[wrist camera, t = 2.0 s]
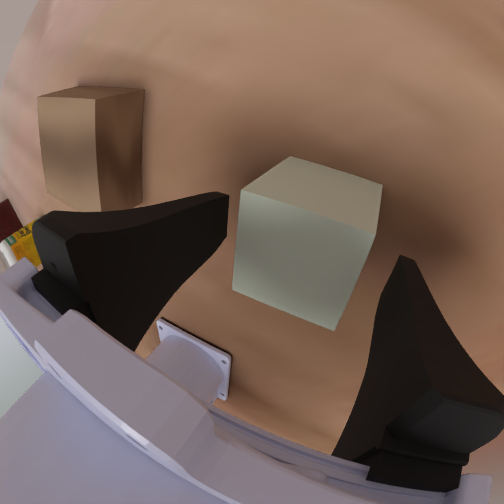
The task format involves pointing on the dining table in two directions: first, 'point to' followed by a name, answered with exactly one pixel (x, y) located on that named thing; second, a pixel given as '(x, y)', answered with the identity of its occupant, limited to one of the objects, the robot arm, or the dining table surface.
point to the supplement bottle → (18, 248)
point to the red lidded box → (8, 220)
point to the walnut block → (92, 147)
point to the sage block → (305, 238)
